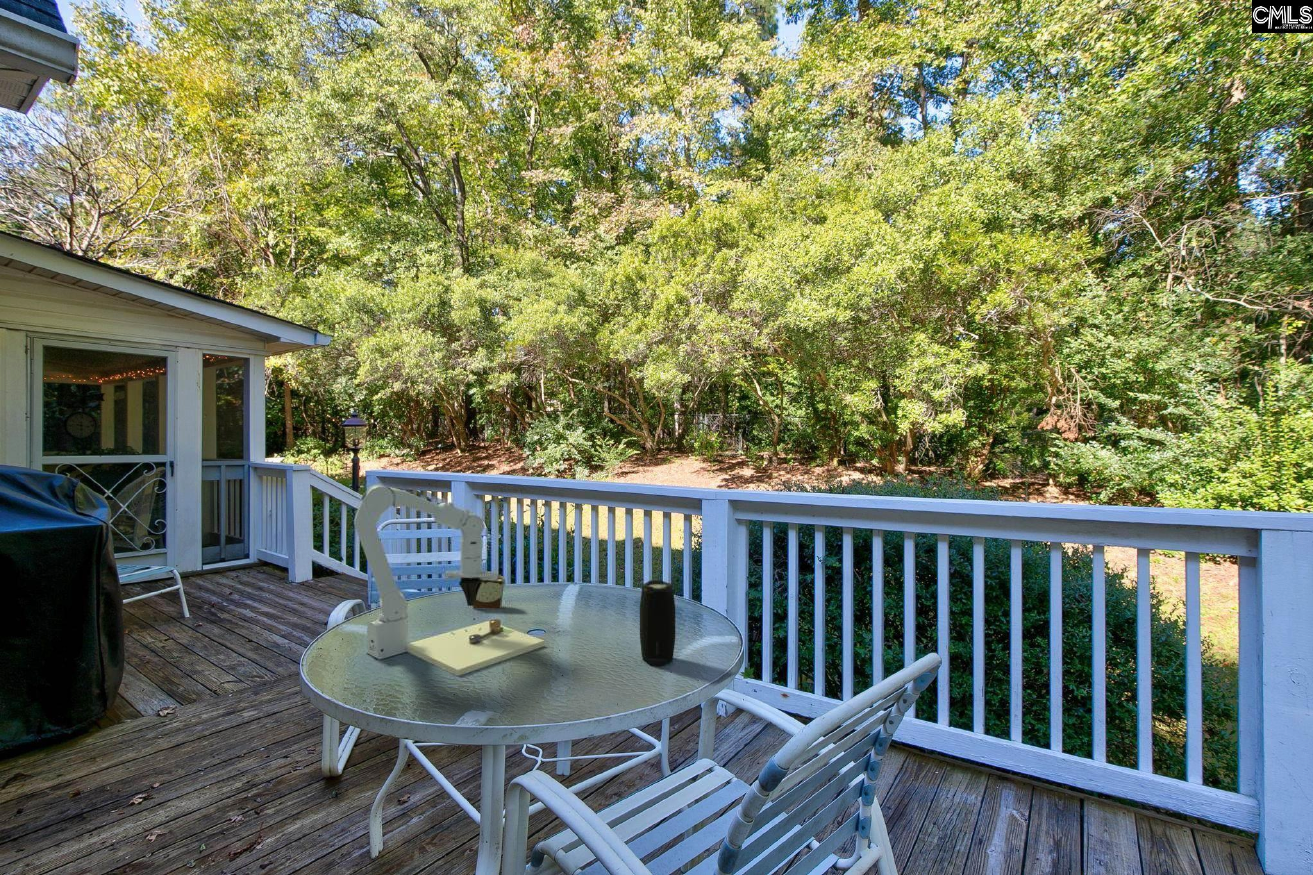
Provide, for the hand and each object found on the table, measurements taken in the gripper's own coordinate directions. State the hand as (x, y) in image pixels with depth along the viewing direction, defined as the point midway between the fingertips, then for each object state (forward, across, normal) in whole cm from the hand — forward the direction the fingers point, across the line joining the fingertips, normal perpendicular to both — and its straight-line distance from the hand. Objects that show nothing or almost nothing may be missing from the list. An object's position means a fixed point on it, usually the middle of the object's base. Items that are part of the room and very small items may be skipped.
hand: (471, 604), depth 167 cm
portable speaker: (+9, -54, +11) cm, 56 cm away
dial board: (+9, -4, +8) cm, 13 cm away
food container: (+10, +6, -30) cm, 32 cm away
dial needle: (+7, -6, +3) cm, 10 cm away
